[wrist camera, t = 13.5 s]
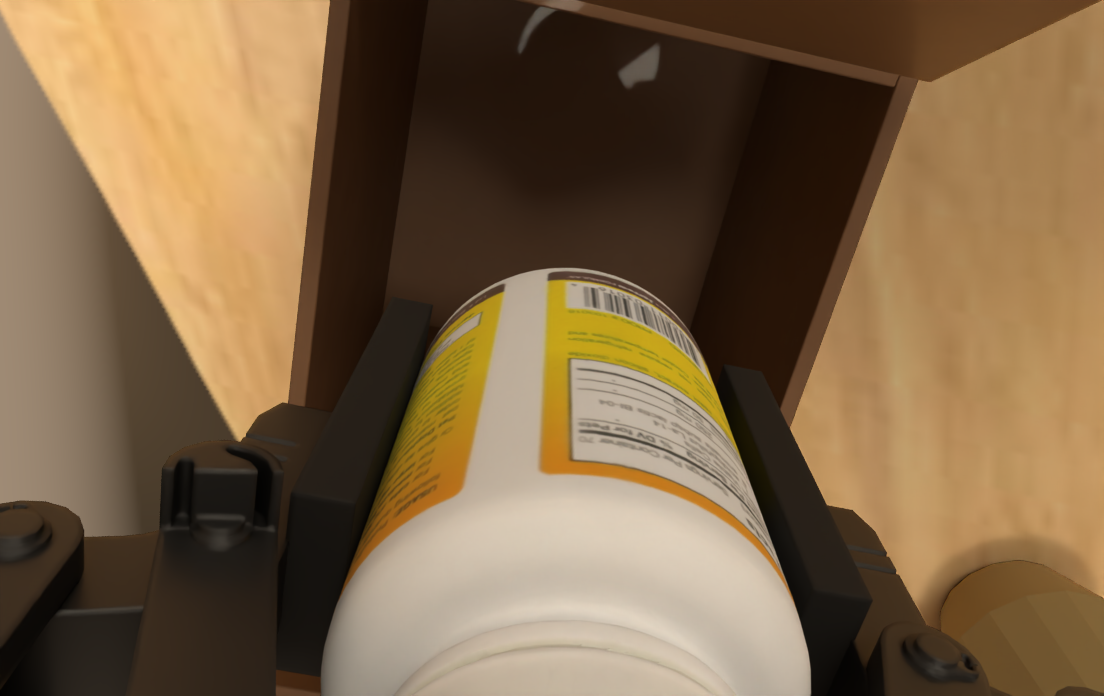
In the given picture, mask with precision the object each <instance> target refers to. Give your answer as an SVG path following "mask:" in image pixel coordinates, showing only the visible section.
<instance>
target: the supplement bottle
mask: <svg viewBox="0 0 1104 696" xmlns="http://www.w3.org/2000/svg"><path fill="white" fill-rule="evenodd" d="M321 696H811V668H810V661H809V654H808V649H807V646H806V642H805V638H804V634H803V630H802V626H801V623H800V619H799V616H798V613H797V610H796V606H795V603H794V600H793V597H792V595H791V592H790V590H789V587H788V585H787V582H786V579H785V577H784V574H783V572H782V569H781V566H780V563H779V561H778V558H777V555H776V552H775V549H774V547H773V544H772V541H771V539H770V536H769V533H768V530H767V528H766V525H765V522H764V520H763V517H762V514H761V511H760V509H759V506H758V503H757V500H756V498H755V495H754V492H753V490H752V487H751V484H750V481H749V479H748V476H747V473H746V470H745V468H744V465H743V462H742V460H741V457H740V454H739V451H738V448H737V446H736V443H735V441H734V438H733V435H732V432H731V430H730V427H729V424H728V421H727V419H726V416H725V413H724V411H723V408H722V405H721V403H720V400H719V397H718V394H717V391H716V389H715V386H714V384H713V381H712V378H711V375H710V372H709V369H708V366H707V364H706V362H705V360H704V357H703V355H702V353H701V351H700V349H699V347H698V345H697V343H696V342H695V340H694V338H693V336H692V335H691V333H690V332H689V330H688V329H687V328H686V326H685V325H684V324H683V322H682V321H681V320H680V319H679V318H678V317H677V316H676V315H675V313H674V312H673V311H672V310H670V309H669V308H668V307H667V306H666V305H665V304H664V303H663V302H662V301H660V300H659V299H658V298H656V297H655V296H654V295H652V294H651V293H649V292H648V291H646V290H644V289H643V288H641V287H639V286H637V285H635V284H633V283H631V282H629V281H627V280H624V279H622V278H619V277H616V276H613V275H610V274H606V273H603V272H599V271H593V270H588V269H579V268H549V269H542V270H535V271H530V272H526V273H522V274H518V275H515V276H513V277H510V278H507V279H505V280H502V281H500V282H497V283H495V284H493V285H492V286H490V287H488V288H486V289H484V290H483V291H481V292H480V293H478V294H477V295H475V296H474V297H472V298H471V299H469V300H468V301H467V302H466V303H464V304H463V305H462V306H461V307H460V308H459V309H458V310H457V311H456V312H455V313H454V314H453V315H452V316H451V317H450V318H449V320H448V321H447V322H446V323H445V324H444V326H443V327H442V328H441V329H440V331H439V332H438V334H437V335H436V337H435V339H434V340H433V342H432V343H431V345H430V347H429V349H428V352H427V354H426V356H425V359H424V361H423V364H422V366H421V368H420V371H419V374H418V377H417V380H416V383H415V385H414V388H413V391H412V395H411V398H410V400H409V403H408V406H407V409H406V412H405V415H404V418H403V420H402V423H401V426H400V429H399V431H398V434H397V437H396V440H395V442H394V445H393V448H392V451H391V454H390V457H389V460H388V463H387V466H386V468H385V471H384V474H383V477H382V480H381V483H380V486H379V489H378V491H377V494H376V497H375V500H374V503H373V505H372V508H371V511H370V514H369V517H368V520H367V523H366V525H365V528H364V531H363V533H362V536H361V539H360V542H359V545H358V547H357V550H356V553H355V556H354V558H353V561H352V564H351V566H350V569H349V572H348V575H347V578H346V581H345V583H344V586H343V589H342V591H341V594H340V597H339V600H338V602H337V605H336V608H335V611H334V614H333V617H332V621H331V624H330V627H329V631H328V635H327V638H326V642H325V646H324V651H323V659H322V666H321Z"/></svg>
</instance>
